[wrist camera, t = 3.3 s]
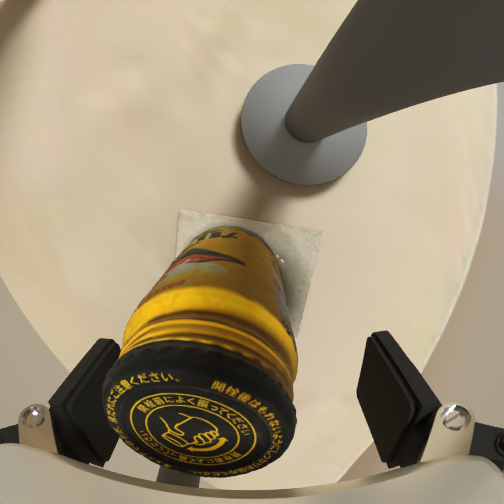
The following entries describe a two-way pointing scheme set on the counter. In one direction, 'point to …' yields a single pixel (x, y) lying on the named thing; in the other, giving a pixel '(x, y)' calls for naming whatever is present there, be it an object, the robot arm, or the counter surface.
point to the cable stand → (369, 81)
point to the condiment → (215, 349)
